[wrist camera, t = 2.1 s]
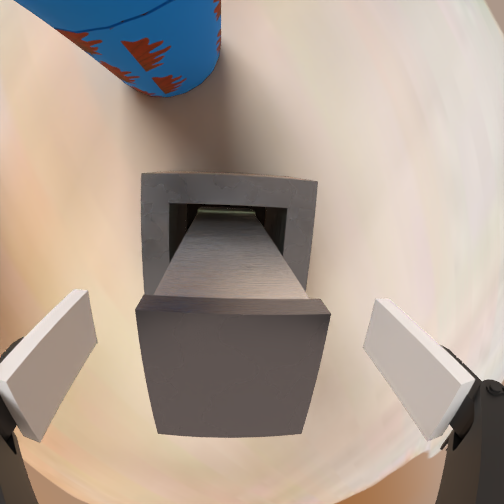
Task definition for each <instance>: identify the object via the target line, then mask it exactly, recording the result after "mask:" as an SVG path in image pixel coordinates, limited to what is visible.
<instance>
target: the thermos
mask: <svg viewBox="0 0 504 504" xmlns="http://www.w3.org/2000/svg"><path fill="white" fill-rule="evenodd" d="M14 1H16V2H17V3H19V4H20V5H22V6H23V7H25V8H26V9H27V10H29V11H30V12H32V13H33V14H35V15H36V16H38V17H39V18H40V19H42V20H43V21H45V22H46V23H47V24H49V25H50V26H52V27H53V28H54V29H56V30H57V31H58V32H60V33H61V34H63V35H64V36H65V37H67V38H68V39H69V40H71V41H72V42H73V43H75V44H76V45H77V46H79V47H80V48H81V49H82V50H84V51H85V52H86V53H88V54H89V55H90V56H92V57H93V58H94V59H95V60H97V61H98V62H99V63H100V64H102V65H103V66H104V67H106V68H107V69H108V70H109V71H111V72H112V73H113V74H114V75H116V76H117V77H118V78H119V79H121V80H122V81H123V82H124V83H126V84H127V85H129V86H131V87H132V88H134V89H135V90H137V91H139V92H142V93H144V94H147V95H149V96H152V97H172V96H175V95H179V94H183V93H186V92H188V91H190V90H191V89H193V88H195V87H196V86H198V85H200V84H201V83H202V82H203V81H204V80H205V79H206V78H207V77H208V76H209V75H210V74H211V72H212V71H213V70H214V67H215V65H216V62H217V60H218V58H219V53H220V45H221V0H14Z"/></svg>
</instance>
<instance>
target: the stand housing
mask: <svg viewBox="0 0 504 504" xmlns="http://www.w3.org/2000/svg"><path fill="white" fill-rule="evenodd" d="M317 185H318V181H312V180H306V179H300V178H293V177H286V176H273V175H259V174H243V173H221V172H186V171H166V172H153V173H142V175H141V237H142V262H143V279H144V292H145V295H154V293H155V291H156V289H157V287H158V285H159V283H160V281H161V279H162V277H163V276H164V274H165V272H166V270H167V268H168V266H169V264H170V262H171V260H172V258H173V257H174V255H175V253H176V251H177V249H178V247H179V246H180V244H181V242H182V240H183V238H184V236H185V235H186V220H187V203H189V204H221V205H244V206H263V207H266V209H265V223H264V229H265V231H266V232H267V234H268V235H269V237H270V238H271V240H272V241H273V243H274V244H275V246H276V247H277V249H278V250H279V252H280V253H281V255H282V257H283V258H284V260H285V261H286V263H287V264H288V266H289V267H290V269H291V270H292V272H293V274H294V275H295V277H296V278H297V280H298V281H299V283H300V284H301V286H302V288H303V289H304V291H306V284H307V276H308V269H309V261H310V253H311V244H312V235H313V226H314V217H315V207H316V196H317Z"/></svg>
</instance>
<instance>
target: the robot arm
mask: <svg viewBox="0 0 504 504" xmlns="http://www.w3.org/2000/svg"><path fill="white" fill-rule="evenodd" d="M96 344H97V337H96V332H95V328H94V322H93V317H92V312H91V306H90V300H89V293H88V290H79V289H74V290H73V291H71V292H70V293H69V294H68V295H67V296H66V297H65V298H64V299H63V300H62V301H61V302H60V303H59V304H58V305H57V306H55V307H54V308H53V309H52V310H51V311H50V312H49V313H48V314H47V315H46V316H45V317H44V318H43V319H42V320H41V321H40V322H39V323H38V324H37V325H36V326H35V327H34V328H33V329H32V330H31V331H30V332H29V333H28V334H27V335H26V336H25V337H22V338H20V339H19V340H17V341H15V342H14V343H12V344H11V346H10V347H9V348H8V349H7V350H6V352H4V353H3V354H2V355H1V358H0V504H38V502H37V499H36V497H35V494H34V491H33V489H32V486H31V483H30V481H29V478H28V475H27V472H26V469H25V466H24V462H23V459H22V455H21V452H20V448H19V444H18V440H17V437H16V435H15V433H14V432H13V431H14V429H15V427H16V425H17V426H18V428H19V429H20V431H21V433H22V434H23V436H25V437H27V438H29V439H32V440H34V441H37V442H41V440H42V438H43V436H44V434H45V432H46V430H47V428H48V426H49V425H50V423H51V421H52V419H53V417H54V415H55V413H56V411H57V410H58V408H59V406H60V404H61V402H62V401H63V399H64V397H65V395H66V394H67V392H68V390H69V388H70V387H71V385H72V383H73V381H74V380H75V378H76V376H77V375H78V373H79V371H80V370H81V368H82V366H83V365H84V363H85V361H86V360H87V358H88V357H89V355H90V353H91V352H92V350H93V349H94V347H95V345H96ZM363 348H364V350H365V351H366V353H367V354H368V355H369V357H370V358H371V360H372V361H373V362H374V364H375V365H376V367H377V368H378V370H379V371H380V372H381V374H382V375H383V377H384V378H385V380H386V381H387V382H388V384H389V385H390V387H391V388H392V390H393V391H394V393H395V394H396V395H397V397H398V398H399V400H400V401H401V403H402V404H403V406H404V407H405V409H406V410H407V412H408V413H409V415H410V416H411V418H412V419H413V421H414V422H415V424H416V425H417V427H418V428H419V430H420V431H421V433H422V434H423V436H424V437H425V439H426V440H427V441H429V440H432V439H434V438H437V437H439V436H442V435H443V433H444V432H445V430H446V429H447V427H448V426H449V424H450V425H451V427H452V428H453V430H452V432H451V433H450V435H449V436H448V437H447V439H446V440H445V442H444V443H443V444H442V446H441V448H440V449H441V450H442V449H443V448H444V447H445V446H446V444H448V448H447V449H446V451H447V454H446V460H445V466H444V470H443V475H442V479H441V484H440V489H439V492H438V496H437V500H436V503H435V504H504V386H503V385H502V384H501V383H499V382H497V381H494V380H484V381H483V382H482V381H481V380H480V379H479V378H478V377H477V376H476V375H475V374H474V373H473V372H472V371H471V370H470V369H469V368H468V367H467V366H466V365H465V364H464V363H462V361H461V360H460V359H459V358H456V356H455V355H454V354H453V353H452V352H451V351H450V350H449V349H447V348H445V347H444V346H442V345H440V344H439V343H438V342H436V341H435V340H434V339H433V338H432V337H431V336H430V335H429V334H428V333H427V332H426V331H425V330H424V329H422V328H421V327H420V326H419V325H418V324H417V323H416V322H415V321H414V320H413V319H412V318H410V317H409V316H408V315H407V314H406V313H405V312H404V311H403V310H401V309H400V308H399V307H398V306H397V305H396V304H395V303H394V302H392V301H391V300H390V299H389V298H378V299H375V303H374V307H373V311H372V315H371V319H370V323H369V327H368V331H367V334H366V338H365V342H364V345H363Z"/></svg>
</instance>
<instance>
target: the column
mask: <svg viewBox="0 0 504 504" xmlns="http://www.w3.org/2000/svg"><path fill="white" fill-rule="evenodd" d="M135 312H136V320H137V328H138V335H139V342H140V349H141V355H142V361H143V367H144V372H145V378H146V383H147V388H148V393H149V398H150V402H151V407H152V411H153V416H154V420H155V424H156V428H157V432H158V434H166V435H178V436H192V437H222V438H238V437H267V436H282V435H293V434H301V433H302V430H303V426H304V423H305V420H306V416H307V413H308V409H309V405H310V402H311V398H312V394H313V390H314V387H315V383H316V379H317V375H318V370H319V366H320V362H321V358H322V353H323V349H324V344H325V340H326V335H327V330H328V326H329V321H330V316H331V313H330V312H329V310H328V309H327V308H326V306H325V305H324V303H323V302H322V301H321V299H309V297H308V295H307V294H306V292H305V291H304V289H303V288H302V286H301V284H300V283H299V281H298V280H297V278H296V277H295V275H294V274H293V272H292V270H291V269H290V267H289V266H288V264H287V263H286V261H285V260H284V258H283V257H282V255H281V253H280V252H279V250H278V249H277V247H276V246H275V244H274V243H273V241H272V240H271V238H270V237H269V235H268V234H267V232H266V231H265V229H264V227H263V226H262V224H261V223H260V221H259V220H258V218H257V217H256V215H255V211H254V210H252V209H245V208H221V207H201V208H199V209H198V213H197V215H196V217H195V219H194V220H193V222H192V224H191V226H190V227H189V229H188V231H187V233H186V235H185V236H184V238H183V240H182V242H181V244H180V246H179V247H178V249H177V251H176V253H175V255H174V257H173V258H172V260H171V262H170V264H169V266H168V268H167V270H166V272H165V274H164V276H163V277H162V279H161V281H160V283H159V285H158V287H157V289H156V291H155V293H154V295H143V297H142V299H141V300H140V302H139V304H138V306H137V307H136V309H135Z"/></svg>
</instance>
